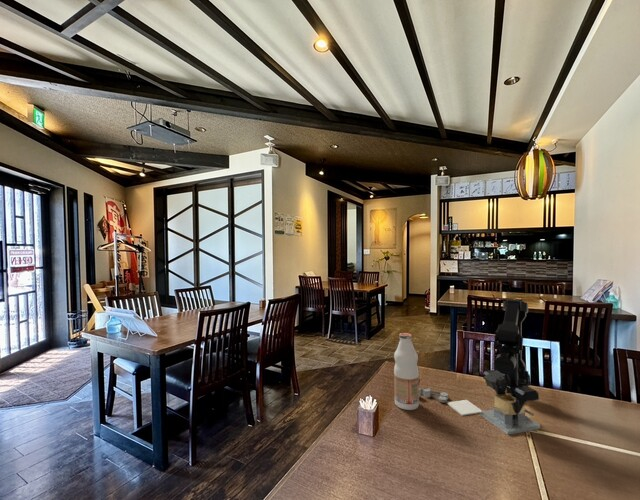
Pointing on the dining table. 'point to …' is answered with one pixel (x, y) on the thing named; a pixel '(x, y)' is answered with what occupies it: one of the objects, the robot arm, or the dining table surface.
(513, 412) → the brass collar
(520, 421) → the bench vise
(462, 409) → the felt mat
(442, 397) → the pulley system
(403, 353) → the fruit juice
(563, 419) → the dining table surface
